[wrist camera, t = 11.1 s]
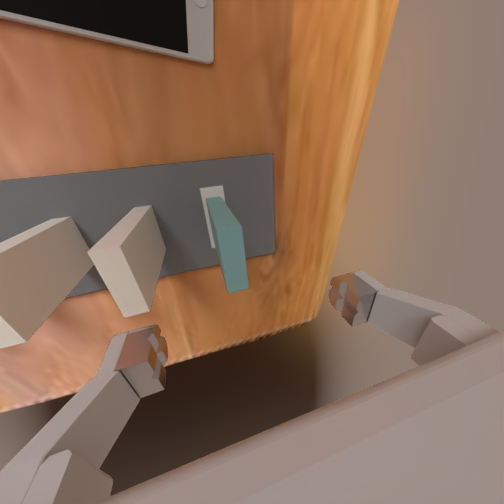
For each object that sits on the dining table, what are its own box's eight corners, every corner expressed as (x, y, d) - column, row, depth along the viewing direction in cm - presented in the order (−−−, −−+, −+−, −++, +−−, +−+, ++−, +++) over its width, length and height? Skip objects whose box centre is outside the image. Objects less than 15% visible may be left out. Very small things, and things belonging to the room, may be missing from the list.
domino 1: (79, 265, 20) (-7, 350, 11) (50, 219, 17) (-86, 282, 9) (96, 261, 20) (26, 342, 12) (71, 216, 18) (-41, 274, 9)
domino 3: (213, 240, 23) (228, 293, 14) (205, 198, 20) (216, 230, 12) (227, 238, 23) (248, 288, 14) (220, 196, 20) (241, 226, 12)
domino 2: (151, 251, 21) (124, 317, 13) (134, 207, 19) (87, 252, 10) (166, 248, 22) (149, 311, 13) (151, 205, 19) (119, 246, 11)
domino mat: (-345, 215, 12) (-381, 219, 11) (270, 153, 21) (273, 153, 20) (-144, 338, 18) (-158, 346, 17) (273, 249, 27) (275, 252, 26)
